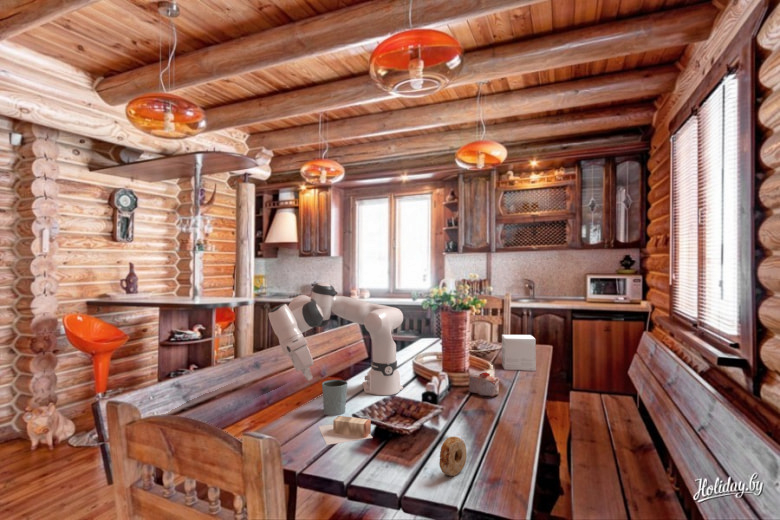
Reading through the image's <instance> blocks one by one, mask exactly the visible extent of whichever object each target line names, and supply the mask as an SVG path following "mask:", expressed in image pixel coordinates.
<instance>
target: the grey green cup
mask: <svg viewBox="0 0 780 520" xmlns="http://www.w3.org/2000/svg"><path fill="white" fill-rule="evenodd" d="M321 389H322V402H323V405H322V406H323V414H324V415H326V416H329V417H336V416H337V417H338V416H343V414H345V413H346V404H347V392H348V391H347V390H348V381H346V380H343V379H330V380H325V381H323V382H322V384H321Z"/></svg>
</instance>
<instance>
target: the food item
mask: <svg viewBox="0 0 780 520" xmlns="http://www.w3.org/2000/svg"><path fill="white" fill-rule="evenodd" d="M500 381H501V380H500V377H495V376H491V375H490V373H488V372H486V371H485V372H481V373H477V372H473V373H471V374H469V381H468V382H469V383H468V385H469V387H468V388H469V389H468V391H469V393H474V394H478V395H479V396H487V397H492V398H494V397H495V396H498V395H499V392H500V391H499V390H500V389H499V388H500V386H499V385H500Z"/></svg>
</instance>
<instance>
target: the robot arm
mask: <svg viewBox="0 0 780 520" xmlns="http://www.w3.org/2000/svg"><path fill="white" fill-rule="evenodd" d="M338 294H339V293H338V291H336V289H335V287H334V286H333V285H331V284H329V283H327V282H326V281H325V282H322V281H321V282H317V283H315V284H314V285H313V286H312V290H311V295H310V296H308V295H305V294H300V295H297V296H295V297H294V298H293V299H291V301H290V302H289V304H286V303H282V304H280V305H277V306H275V307H274V308H272V309H270V310H269V311H268V312H267V314H268V315H267V316H268V319H269V322H270V325H271V327H272V331H273V332H274V334H275V335H276V337H277V338H278V342H279V346H280V348H281V350H282V352H283V354H284V355H285V356H287V355H288V356H289V358H290V360H291V364H292V365H293V368H294V370H295V371H296V372H300V371H301V373H302V374H303V376H304V378H305V380H306V381H312V380H314V378H313V375H312V372H311V371H312V370H311V368H310V367H311V366H313V365H314V359H313V357H312V354H311V352H310V351H311V350H310V348H309V347H308V340H307V339H306V338H305V336H304V335H303V333H305V332H307V331H310V330H311V329H314V328H325V327H327V326H328V324H329V322H330V320H331V314H334V315H336V316H337V317H340V318H341V319H344V320H346V321H348V322H353V323H355V324H359V325H364V328H365V329H366V331H367V332H368V333H369V336H370V339H371V343H372V345H371V346H372V361H371V366H370V369H369V371H368V372H367V374H366V375H364V381H363V382H362V384H361V385H362V388H363V390H364V393H365V394H371V395H376V396H391V395H396V394H398V393H399V392H401V391H402V390H403V389H404V386H402V385H401V373H400V371H399V370H398V360H397V344H396V342H395V341H394V339H393V336H392V331H393V330H395V329H397V328H398V327H400V326H401V325H402V323H403V321H404V314H403V311H401V309H399V307H398V308H397V307H393V306H388V305H384V304H379V303H375V302H374V303H372V302H367V301H363V300H361V299H357V298H354V297H350V296H343V295H338Z"/></svg>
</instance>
